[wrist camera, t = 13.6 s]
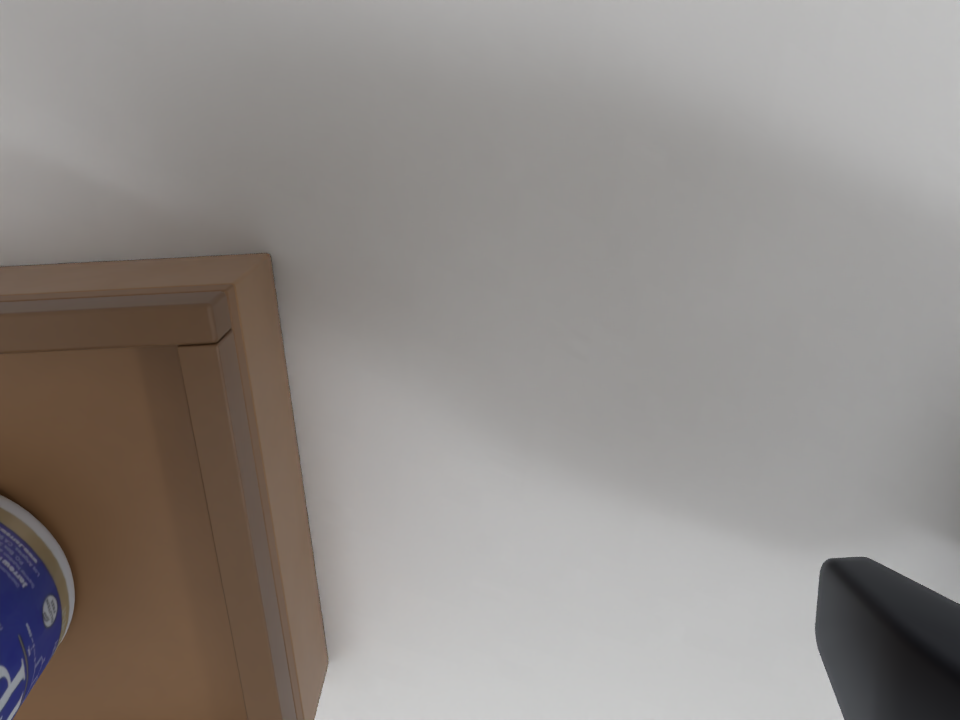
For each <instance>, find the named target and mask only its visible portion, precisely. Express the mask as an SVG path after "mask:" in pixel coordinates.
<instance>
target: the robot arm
mask: <svg viewBox="0 0 960 720" xmlns="http://www.w3.org/2000/svg"><path fill="white" fill-rule="evenodd" d="M815 634H816V641H817V646H818V650H819V653H820V656H821V658H822V661H823V664H824V666H825V669H826V672H827V674H828V677H829V680H830V682H831V685H832V688H833V690H834V693H835V696H836V698H837V701H838V704H839V706H840V709H841V712H842V714H843V717H844V720H960V604H958V603H956V602H954V601H952V600H950V599H948V598H946V597H944V596H942V595H940V594H938V593H936V592H934V591H932V590H931V589H929V588H927V587H925V586H923V585H921V584H919V583H917V582H915V581H913V580H911V579H909V578H907V577H905V576H903V575H901V574H899V573H897V572H895V571H893V570H891V569H889V568H887V567H886V566H884V565H882V564H880V563H878V562H876V561H874V560H872V559H870V558H867V557H847V558H830V559H828V560H826V561H825V562H824V563H823V565H822V567H821V570H820V577H819V588H818V599H817V611H816V622H815Z"/></svg>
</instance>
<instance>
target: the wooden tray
mask: <svg viewBox="0 0 960 720" xmlns="http://www.w3.org/2000/svg"><path fill="white" fill-rule="evenodd" d="M0 495H2V496H4V497H6V498H8V499H10V500H11V501H13V502H15V503H16V504H18V505H20V506H21V507H22V508H24V509H25V510H27V511H28V512H29V513H31V514H32V515H33V516H34V517H35V518H36V519H38V520H39V521H40V522H41V523H42V524H43V525H44V526H45V527H46V528H47V530H48V531H49V532H50V533H51V534H52V536H53V537H54V538H55V539H56V541H57V542H58V544H59V545H60V547H61V549H62V550H63V552H64V554H65V556H66V558H67V561H68V563H69V566H70V568H71V572H72V576H73V581H74V589H75V603H74V611H73V615H72V619H71V622H70V625H69V628H68V630H67V633H66V635H65V636H64V638H63V640H62V642H61V643H60V645H59V646H58V648H57V650H56V651H55V653H54V655H53V656H52V658H51V659H50V661H49V663H48V664H47V666H46V667H45V669H44V670H43V672H42V674H41V675H40V677H39V678H38V680H37V681H36V683H35V685H34V686H33V688H32V689H31V691H30V692H29V694H28V696H27V697H26V699H25V700H24V702H23V703H22V705H21V707H20V708H19V710H18V711H17V713H16V715H15V716H14V718H13V719H12V720H314V718H315V714H316V711H317V707H318V703H319V699H320V695H321V691H322V687H323V683H324V679H325V675H326V671H327V667H328V656H327V649H326V642H325V635H324V628H323V621H322V614H321V607H320V600H319V593H318V586H317V579H316V572H315V565H314V558H313V551H312V543H311V536H310V529H309V522H308V515H307V508H306V501H305V494H304V487H303V480H302V473H301V466H300V459H299V452H298V445H297V438H296V431H295V424H294V417H293V410H292V403H291V396H290V389H289V382H288V375H287V368H286V361H285V354H284V347H283V340H282V333H281V326H280V319H279V312H278V305H277V298H276V291H275V284H274V277H273V270H272V263H271V256H270V254H268V253H259V254H239V255H220V256H200V257H181V258H161V259H142V260H123V261H103V262H84V263H64V264H45V265H25V266H6V267H0Z"/></svg>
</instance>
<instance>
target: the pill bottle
mask: <svg viewBox="0 0 960 720" xmlns="http://www.w3.org/2000/svg"><path fill="white" fill-rule="evenodd" d="M74 603H75V589H74V581H73V576H72V572H71V568H70V566H69V563H68V561H67V558H66V556H65V554H64V552H63V550H62V549H61V547H60V545H59V544H58V542H57V541H56V539H55V538H54V537H53V536H52V534H51V533H50V532H49V531H48V530H47V528H46V527H45V526H44V525H43V524H42V523H41V522H40V521H39V520H38V519H36V518H35V517H34V516H33V515H32V514H31V513H29V512H28V511H27V510H25V509H24V508H22V507H21V506H20V505H18V504H16V503H15V502H13V501H11V500H10V499H8V498H6V497H4V496H2V495H0V720H12V719H13V718H14V716H15V715H16V713H17V711H18V710H19V708H20V707H21V705H22V703H23V702H24V700H25V699H26V697H27V696H28V694H29V692H30V691H31V689H32V688H33V686H34V685H35V683H36V681H37V680H38V678H39V677H40V675H41V674H42V672H43V670H44V669H45V667H46V666H47V664H48V663H49V661H50V659H51V658H52V656H53V655H54V653H55V651H56V650H57V648H58V646H59V645H60V643H61V642H62V640H63V638H64V636H65V635H66V633H67V630H68V628H69V625H70V622H71V619H72V615H73V611H74Z"/></svg>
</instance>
